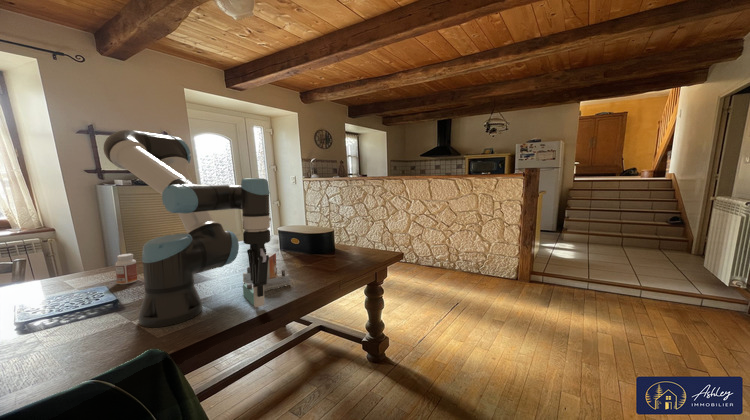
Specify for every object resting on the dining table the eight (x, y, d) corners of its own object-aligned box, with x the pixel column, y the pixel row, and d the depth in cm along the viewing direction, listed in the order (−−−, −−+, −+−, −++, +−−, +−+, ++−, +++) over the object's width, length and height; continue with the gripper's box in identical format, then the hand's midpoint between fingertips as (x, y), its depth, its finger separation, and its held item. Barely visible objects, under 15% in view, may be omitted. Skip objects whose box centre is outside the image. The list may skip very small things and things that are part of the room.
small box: (270, 285, 105) (269, 257, 104) (255, 285, 105) (254, 257, 104) (277, 278, 113) (276, 252, 112) (263, 278, 113) (262, 252, 112)
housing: (255, 293, 99) (254, 277, 99) (242, 282, 111) (242, 267, 110) (290, 285, 108) (289, 270, 107) (275, 276, 119) (275, 262, 119)
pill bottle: (137, 278, 116) (135, 252, 115) (137, 282, 111) (135, 255, 110) (117, 281, 112) (115, 254, 111) (116, 286, 107) (114, 257, 106)
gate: (252, 305, 89) (252, 289, 89) (242, 295, 98) (242, 281, 97) (257, 304, 90) (257, 288, 90) (247, 294, 99) (247, 280, 98)
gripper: (277, 231, 82) (279, 309, 84) (262, 226, 92) (264, 296, 94) (250, 233, 77) (253, 316, 79) (237, 228, 87) (240, 301, 89)
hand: (259, 305), depth 86 cm, fingers closed
